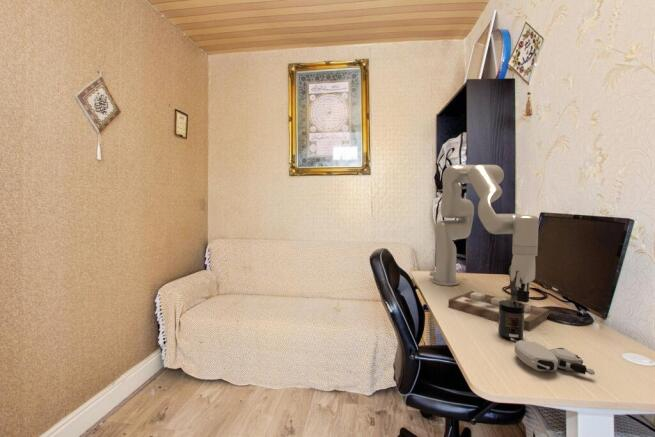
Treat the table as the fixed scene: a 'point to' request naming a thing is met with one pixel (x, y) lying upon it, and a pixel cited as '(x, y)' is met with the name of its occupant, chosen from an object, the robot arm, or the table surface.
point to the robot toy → (549, 358)
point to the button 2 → (527, 308)
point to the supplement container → (511, 320)
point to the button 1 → (477, 296)
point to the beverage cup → (513, 288)
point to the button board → (495, 309)
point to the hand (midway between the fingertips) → (522, 301)
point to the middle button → (496, 300)
